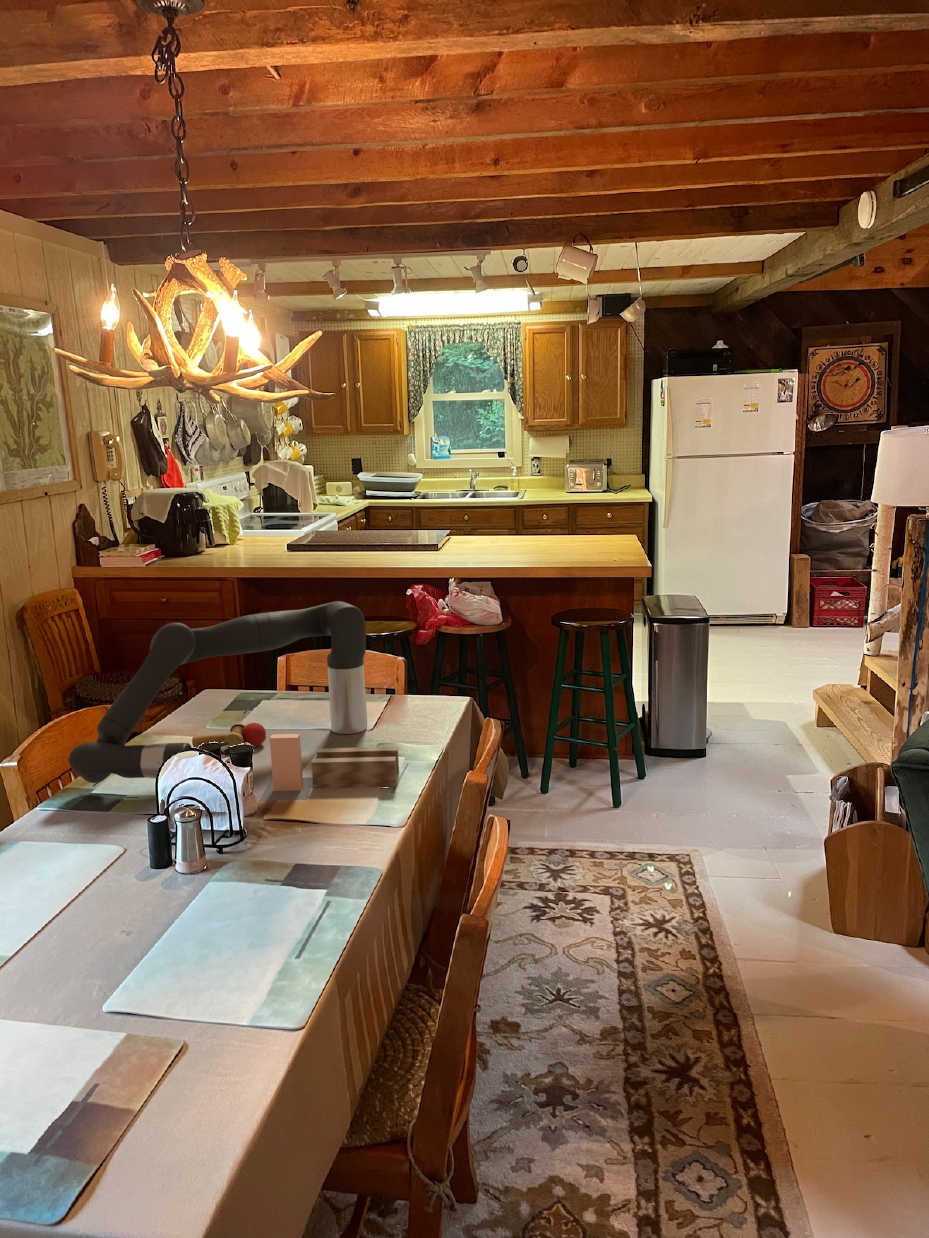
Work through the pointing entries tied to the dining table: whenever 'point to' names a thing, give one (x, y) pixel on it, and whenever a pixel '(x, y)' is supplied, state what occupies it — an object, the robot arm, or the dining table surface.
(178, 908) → the dining table surface
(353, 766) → the rack
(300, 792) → the mat
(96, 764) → the robot arm
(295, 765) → the block
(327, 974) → the dining table surface
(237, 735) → the kendama
